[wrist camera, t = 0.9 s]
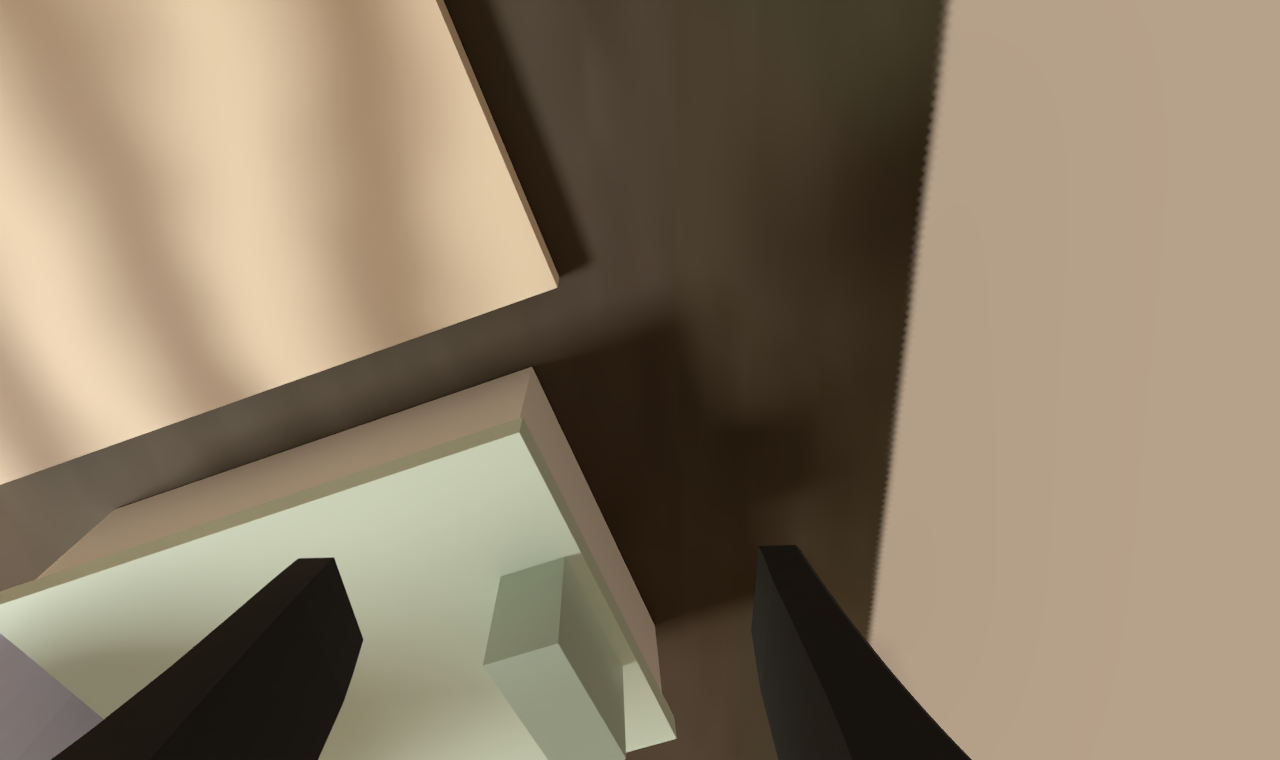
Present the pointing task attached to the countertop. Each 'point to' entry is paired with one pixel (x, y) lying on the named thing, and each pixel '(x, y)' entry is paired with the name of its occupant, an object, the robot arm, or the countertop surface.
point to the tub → (371, 449)
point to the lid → (387, 609)
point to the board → (234, 205)
